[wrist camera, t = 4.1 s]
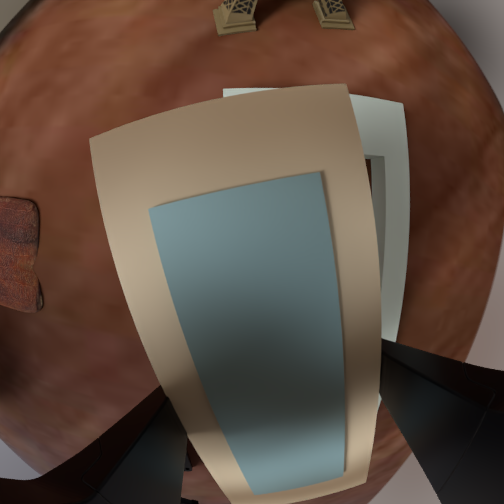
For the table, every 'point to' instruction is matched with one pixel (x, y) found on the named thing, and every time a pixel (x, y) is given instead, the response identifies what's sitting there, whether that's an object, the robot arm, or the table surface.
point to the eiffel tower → (242, 20)
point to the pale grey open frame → (383, 195)
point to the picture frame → (254, 282)
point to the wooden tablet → (19, 255)
